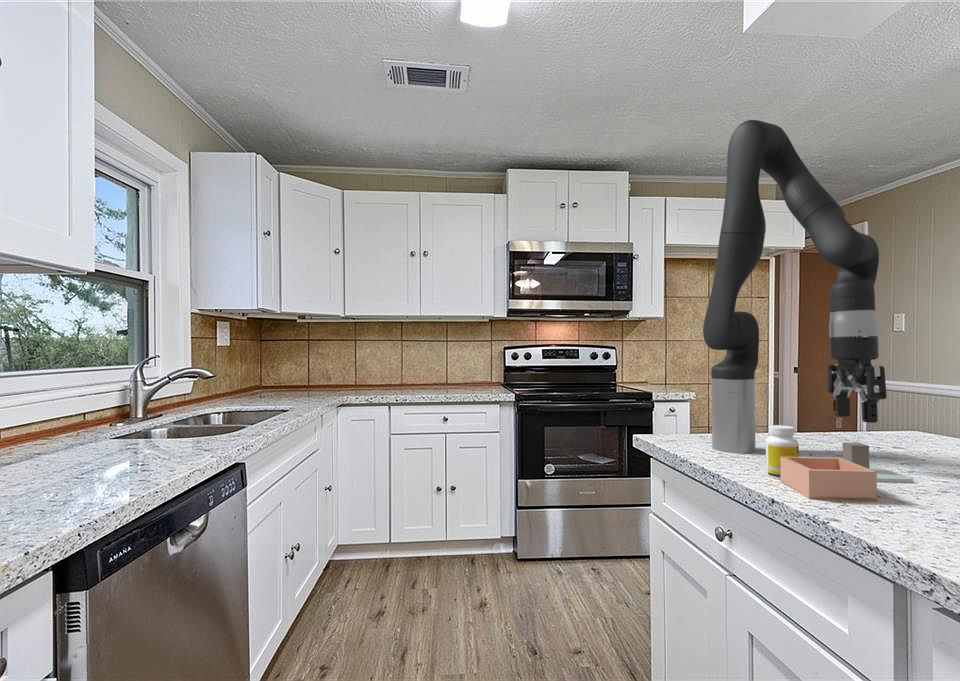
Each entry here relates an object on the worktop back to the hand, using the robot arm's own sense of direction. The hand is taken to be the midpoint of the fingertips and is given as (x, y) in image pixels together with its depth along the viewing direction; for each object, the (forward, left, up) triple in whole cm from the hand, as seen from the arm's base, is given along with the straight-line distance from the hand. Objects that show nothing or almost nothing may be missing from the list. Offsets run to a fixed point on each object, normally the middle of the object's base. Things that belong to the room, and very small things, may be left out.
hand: (856, 419), depth 96 cm
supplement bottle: (+3, -15, -11) cm, 19 cm away
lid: (0, 0, -10) cm, 10 cm away
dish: (+13, -12, -11) cm, 20 cm away
